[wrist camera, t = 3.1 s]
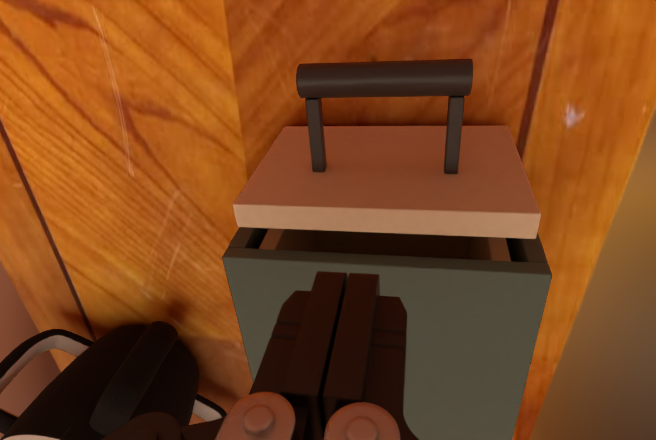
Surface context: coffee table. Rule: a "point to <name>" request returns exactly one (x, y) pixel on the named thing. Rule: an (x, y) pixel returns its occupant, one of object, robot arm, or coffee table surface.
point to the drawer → (390, 173)
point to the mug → (106, 383)
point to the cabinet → (420, 324)
